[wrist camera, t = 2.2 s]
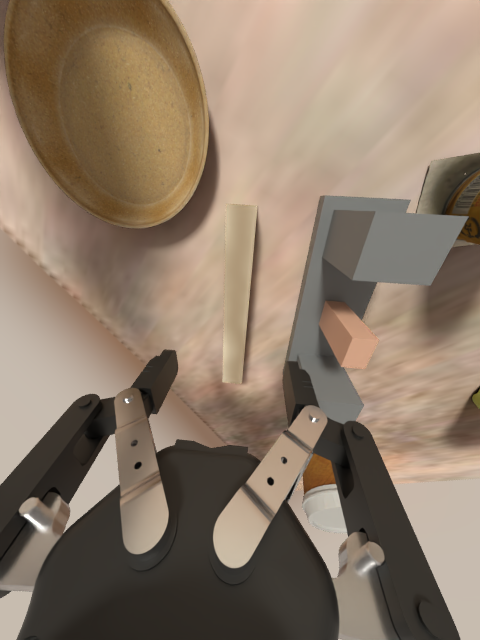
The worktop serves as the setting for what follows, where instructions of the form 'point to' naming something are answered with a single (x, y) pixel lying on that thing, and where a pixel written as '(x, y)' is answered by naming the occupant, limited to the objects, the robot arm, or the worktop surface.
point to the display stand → (358, 286)
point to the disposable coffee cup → (322, 496)
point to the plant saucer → (110, 103)
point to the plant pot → (476, 399)
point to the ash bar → (237, 286)
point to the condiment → (455, 194)
